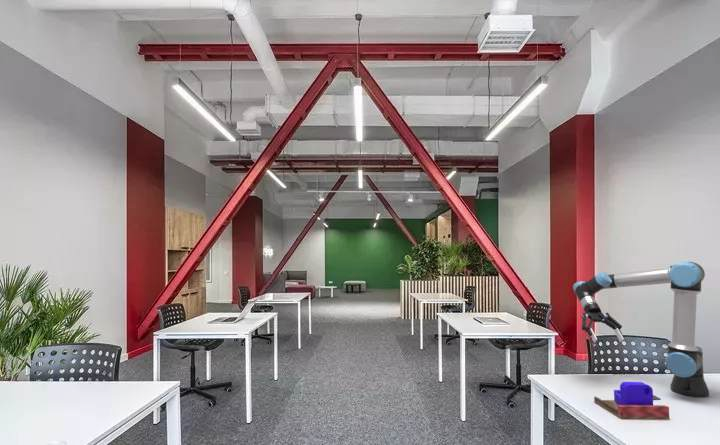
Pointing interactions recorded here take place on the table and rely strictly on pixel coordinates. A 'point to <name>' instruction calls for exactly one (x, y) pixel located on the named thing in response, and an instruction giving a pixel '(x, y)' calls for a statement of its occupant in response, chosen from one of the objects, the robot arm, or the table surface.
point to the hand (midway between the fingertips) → (608, 340)
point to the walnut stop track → (634, 410)
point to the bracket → (634, 394)
